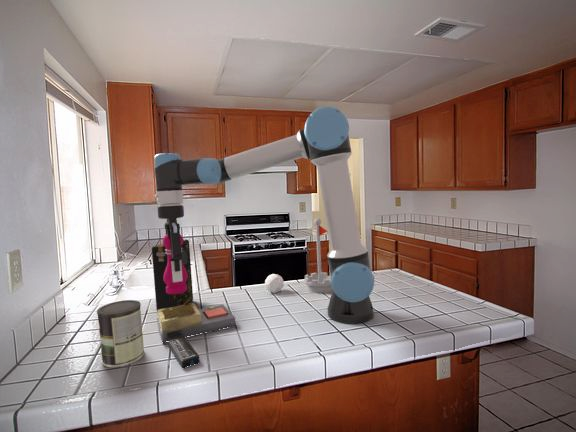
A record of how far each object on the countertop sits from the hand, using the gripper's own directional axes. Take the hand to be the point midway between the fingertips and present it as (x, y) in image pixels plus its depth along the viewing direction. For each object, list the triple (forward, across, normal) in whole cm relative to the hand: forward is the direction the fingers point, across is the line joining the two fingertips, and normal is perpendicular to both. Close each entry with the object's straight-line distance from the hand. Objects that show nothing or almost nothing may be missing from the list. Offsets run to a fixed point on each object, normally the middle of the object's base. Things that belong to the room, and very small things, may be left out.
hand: (175, 278), depth 104 cm
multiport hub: (+17, +17, -2) cm, 24 cm away
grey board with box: (+17, 0, +5) cm, 17 cm away
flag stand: (+17, -11, +59) cm, 62 cm away
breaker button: (+16, 0, +12) cm, 20 cm away
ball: (+17, -18, +41) cm, 48 cm away
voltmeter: (+17, -23, +2) cm, 29 cm away
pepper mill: (+4, 0, 0) cm, 4 cm away
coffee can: (+17, +10, -16) cm, 25 cm away
